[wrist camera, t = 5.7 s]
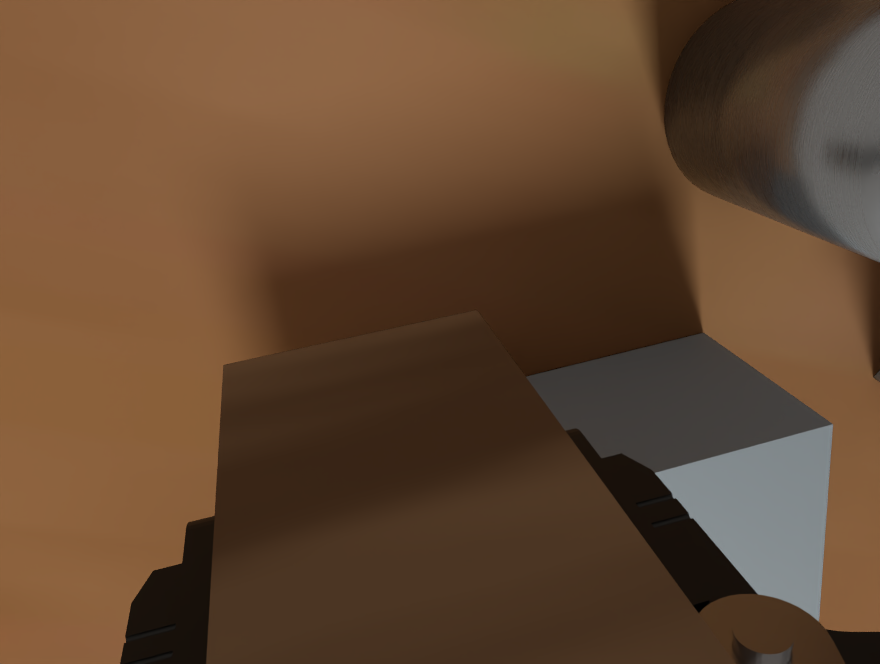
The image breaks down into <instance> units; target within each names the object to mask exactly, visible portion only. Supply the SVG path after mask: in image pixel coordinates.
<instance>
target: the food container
mask: <svg viewBox="0 0 880 664" xmlns="http://www.w3.org/2000/svg"><path fill="white" fill-rule="evenodd" d="M874 378H875V379H876V380H878V381H879V382H880V371H879V372H878V373H877V374H876V375H875V376H874Z"/></svg>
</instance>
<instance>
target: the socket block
mask: <svg viewBox="0 0 880 664" xmlns="http://www.w3.org/2000/svg"><path fill="white" fill-rule="evenodd" d="M526 378H527V379H528V380H529V382H530V383H531V384H532V386H533V387H534V389H535V390H536V391H537V393H538V394H539V395H540V397H541V398H542V400H543V401H544V402H545V404H546V405H547V406H548V408H549V409H550V410H551V412H552V413H553V415H554V416H555V417H556V419H557V420H558V421H559V423H560V424H561V426H562V427H563V428H564V430H565V431H566V430H570V429H574V428H577V429H579V430H580V431H581V432H582V433H583V435H584V436H585V437H586V439H587V440H588V441H589V443H590V444H591V445H592V447H593V448H594V449H595V451H596V452H597V453H598V454H599V456H600V457H601V458H605V457H609V456H613V455H617V454H621V453H622V454H624V455H626V456H627V457H629V458H631V459H633V460H635V461H637V462H638V463H640V464H642V465H644V466H646V467H648V468H650V469H651V470H653V471H654V473H655V474H656V475H657V476H658V477H659V479H660V480H661V481H662V482H663V483H664V484H665V486H666V487H667V488H668V489H669V490H670V491H671V493H672V495H673V498H674V499H675V498H676V499H677V500H678V501H679V502H680V503H681V504H682V506H683V507H684V508H685V509H686V510H687V511H688V513H689V516H690V518H694V520H695V521H696V522H697V523H698V524H699V526H700V527H701V528H702V529H703V530H704V531H705V533H706V534H707V535H708V536H709V537H710V538H711V540H712V541H713V542H714V543H715V544H716V546H717V547H718V548H719V549H720V550H721V551H722V553H723V554H724V555H725V556H726V557H727V558H728V560H729V561H730V562H731V563H732V564H733V566H734V567H735V568H736V569H737V570H738V571H739V573H740V574H741V575H742V576H743V577H744V578H745V580H746V581H747V582H748V583H749V584H750V586H751V587H752V588H753V589H754V590H755V591H756V593H757V594H758V595H765V596H770V597H774V598H778V599H781V600H784V601H786V602H789V603H791V604H793V605H795V606H797V607H799V608H801V609H802V610H804V611H806V612H807V613H809V614H810V615H811V616H813V617H814V618H815V619H816V620H817V621H819V612H820V598H821V584H822V570H823V556H824V542H825V528H826V514H827V500H828V485H829V471H830V457H831V443H832V429H833V424H832V423H830V422H829V421H828V420H826V419H825V418H823V417H822V416H821V415H819V414H818V413H816V412H815V411H813V410H812V409H811V408H809V407H808V406H806V405H805V404H804V403H802V402H801V401H799V400H798V399H797V398H795V397H794V396H792V395H791V394H790V393H788V392H787V391H785V390H784V389H782V388H781V387H780V386H778V385H777V384H775V383H774V382H773V381H771V380H770V379H768V378H767V377H766V376H764V375H763V374H761V373H760V372H758V371H757V370H756V369H754V368H753V367H751V366H750V365H749V364H747V363H746V362H744V361H743V360H742V359H740V358H739V357H737V356H736V355H734V354H733V353H732V352H730V351H729V350H727V349H726V348H725V347H723V346H722V345H720V344H719V343H718V342H716V341H715V340H713V339H712V338H711V337H709V336H708V335H706V334H705V333H700V334H696V335H692V336H688V337H684V338H680V339H676V340H672V341H668V342H664V343H660V344H656V345H652V346H648V347H644V348H640V349H636V350H632V351H628V352H624V353H620V354H615V355H611V356H607V357H603V358H599V359H595V360H591V361H587V362H583V363H579V364H575V365H571V366H567V367H563V368H559V369H555V370H551V371H547V372H543V373H539V374H535V375H531V376H526Z"/></svg>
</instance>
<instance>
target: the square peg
mask: <svg viewBox="0 0 880 664" xmlns="http://www.w3.org/2000/svg"><path fill="white" fill-rule="evenodd" d="M206 664H735V662H734V661H733V660H732V658H731V657H730V656H729V654H728V653H727V652H726V650H725V649H724V647H723V646H722V645H721V643H720V642H719V641H718V639H717V638H716V636H715V635H714V634H713V632H712V631H711V630H710V628H709V627H708V626H707V624H706V623H705V621H704V620H703V619H702V617H701V616H700V615H699V613H698V612H697V610H696V609H695V608H694V606H693V605H692V604H691V602H690V601H689V599H688V598H687V597H686V595H685V594H684V593H683V591H682V590H681V589H680V587H679V586H678V584H677V583H676V582H675V580H674V579H673V578H672V576H671V575H670V573H669V572H668V571H667V569H666V568H665V567H664V565H663V564H662V563H661V561H660V560H659V558H658V557H657V556H656V554H655V553H654V552H653V550H652V549H651V547H650V546H649V545H648V543H647V542H646V541H645V539H644V538H643V536H642V535H641V534H640V532H639V531H638V530H637V528H636V527H635V526H634V524H633V523H632V521H631V520H630V519H629V517H628V516H627V515H626V513H625V512H624V510H623V509H622V508H621V506H620V505H619V504H618V502H617V501H616V500H615V498H614V497H613V495H612V494H611V493H610V491H609V490H608V489H607V487H606V486H605V484H604V483H603V482H602V480H601V479H600V478H599V476H598V475H597V473H596V472H595V471H594V469H593V468H592V467H591V465H590V464H589V463H588V461H587V460H586V458H585V457H584V456H583V454H582V453H581V452H580V450H579V449H578V447H577V446H576V445H575V443H574V442H573V441H572V439H571V438H570V437H569V435H568V434H567V432H566V431H565V430H564V428H563V427H562V426H561V424H560V423H559V421H558V420H557V419H556V417H555V416H554V415H553V413H552V412H551V410H550V409H549V408H548V406H547V405H546V404H545V402H544V401H543V400H542V398H541V397H540V395H539V394H538V393H537V391H536V390H535V389H534V387H533V386H532V384H531V383H530V382H529V380H528V379H527V378H526V376H525V375H524V374H523V372H522V371H521V369H520V368H519V367H518V365H517V364H516V363H515V361H514V360H513V358H512V357H511V356H510V354H509V353H508V352H507V350H506V349H505V347H504V346H503V345H502V343H501V342H500V341H499V339H498V338H497V337H496V335H495V334H494V332H493V331H492V330H491V328H490V327H489V326H488V324H487V323H486V321H485V320H484V319H483V317H482V316H481V315H480V313H479V312H478V311H477V310H474V311H470V312H465V313H461V314H456V315H451V316H447V317H442V318H438V319H433V320H428V321H424V322H419V323H415V324H410V325H405V326H401V327H396V328H392V329H387V330H382V331H378V332H373V333H369V334H364V335H359V336H355V337H350V338H346V339H341V340H336V341H332V342H327V343H323V344H318V345H313V346H309V347H304V348H300V349H295V350H290V351H286V352H281V353H277V354H272V355H268V356H263V357H258V358H254V359H249V360H245V361H240V362H235V363H231V364H226V365H223V382H222V399H221V417H220V434H219V451H218V469H217V486H216V503H215V521H214V538H213V555H212V572H211V590H210V607H209V624H208V642H207V659H206Z"/></svg>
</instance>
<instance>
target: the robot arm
mask: <svg viewBox="0 0 880 664" xmlns="http://www.w3.org/2000/svg"><path fill="white" fill-rule="evenodd" d="M566 432H567V434H568V435H569V437H570V438H571V439H572V441H573V442H574V443H575V445H576V446H577V447H578V449H579V450H580V452H581V453H582V454H583V456H584V457H585V458H586V460H587V461H588V463H589V464H590V465H591V467H592V468H593V469H594V471H595V472H596V473H597V475H598V476H599V478H600V479H601V480H602V482H603V483H604V484H605V486H606V487H607V489H608V490H609V491H610V493H611V494H612V495H613V497H614V498H615V500H616V501H617V502H618V504H619V505H620V506H621V508H622V509H623V510H624V512H625V513H626V515H627V516H628V517H629V519H630V520H631V521H632V523H633V524H634V526H635V527H636V528H637V530H638V531H639V532H640V534H641V535H642V536H643V538H644V539H645V541H646V542H647V543H648V545H649V546H650V547H651V549H652V550H653V552H654V553H655V554H656V556H657V557H658V558H659V560H660V561H661V563H662V564H663V565H664V567H665V568H666V569H667V571H668V572H669V573H670V575H671V576H672V578H673V579H674V580H675V582H676V583H677V584H678V586H679V587H680V589H681V590H682V591H683V593H684V594H685V595H686V597H687V598H688V599H689V601H690V602H691V604H692V605H693V606H694V608H695V609H696V610H697V612H698V613H699V615H700V616H701V617H702V619H703V620H704V621H705V623H706V624H707V626H708V627H709V628H710V630H711V631H712V632H713V634H714V635H715V636H716V638H717V639H718V641H719V642H720V643H721V645H722V646H723V647H724V649H725V650H726V652H727V653H728V654H729V656H730V657H731V658H732V660H733V661H734V662H735V664H880V632H842V631H833V630H827V629H825V628H824V627H823V626H822V625H821V624H820V623H819V621H817V620H816V619H815V618H814V617H813V616H811V615H810V614H809V613H807V612H806V611H804V610H802V609H801V608H799V607H797V606H795V605H793V604H791V603H789V602H786V601H784V600H781V599H778V598H774V597H770V596H765V595H758V594H757V593H756V591H755V590H754V589H753V588H752V587H751V586H750V584H749V583H748V582H747V581H746V580H745V578H744V577H743V576H742V575H741V574H740V573H739V571H738V570H737V569H736V568H735V567H734V566H733V564H732V563H731V562H730V561H729V560H728V558H727V557H726V556H725V555H724V554H723V553H722V551H721V550H720V549H719V548H718V547H717V546H716V544H715V543H714V542H713V541H712V540H711V538H710V537H709V536H708V535H707V534H706V533H705V531H704V530H703V529H702V528H701V527H700V526H699V524H698V523H697V522H696V521H695V520H694V518H690V516H689V513H688V511H687V510H686V509H685V508H684V507H683V506H682V504H681V503H680V502H679V501H678V500H677V499H676V498H675V499H674V498H673V495H672V493H671V491H670V490H669V489H668V488H667V487H666V486H665V484H664V483H663V482H662V481H661V480H660V479H659V477H658V476H657V475H656V474H655V473H654V471H653V470H651V469H650V468H648V467H646V466H644V465H642V464H640V463H638V462H637V461H635V460H633V459H631V458H629V457H627V456H626V455H624V454H622V453H621V454H617V455H613V456H609V457H605V458H601V457H600V456H599V454H598V453H597V452H596V451H595V449H594V448H593V447H592V445H591V444H590V443H589V441H588V440H587V439H586V437H585V436H584V435H583V433H582V432H581V431H580V430H579V429H577V428H574V429H570V430H566ZM214 521H215V516H212V517H208V518H204V519H200V520H196V521H192V522H189V523H188V524H187V527H186V535H185V544H184V553H183V562H182V564H178V565H174V566H170V567H166V568H162V569H158V570H154V571H153V572H152V573H151V575H150V576H149V578H148V579H147V581H146V582H145V584H144V585H143V587H142V588H141V590H140V591H139V593H138V594H137V596H136V597H135V599H134V600H133V602H132V603H131V608H130V614H129V619H128V625H127V630H126V635H125V637H126V643H124V646H123V652H122V657H121V662H120V664H206V659H207V642H208V624H209V607H210V590H211V572H212V555H213V538H214Z"/></svg>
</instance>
